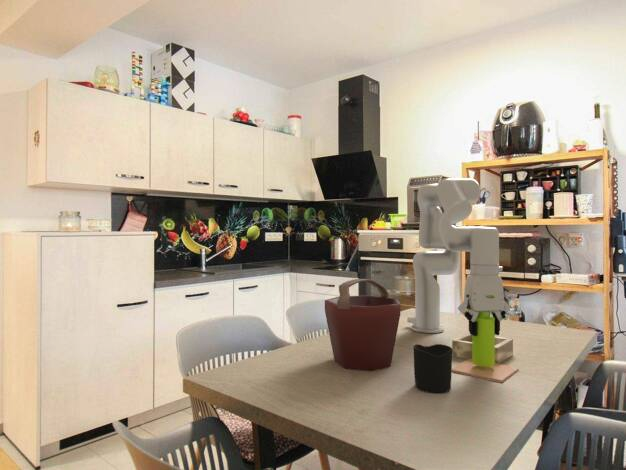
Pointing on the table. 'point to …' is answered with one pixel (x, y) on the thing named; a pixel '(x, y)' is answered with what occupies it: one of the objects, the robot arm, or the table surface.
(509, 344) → the open box
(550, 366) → the table surface
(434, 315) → the robot arm
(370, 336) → the bucket
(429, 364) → the pen holder
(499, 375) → the plate
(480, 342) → the soap dispenser
